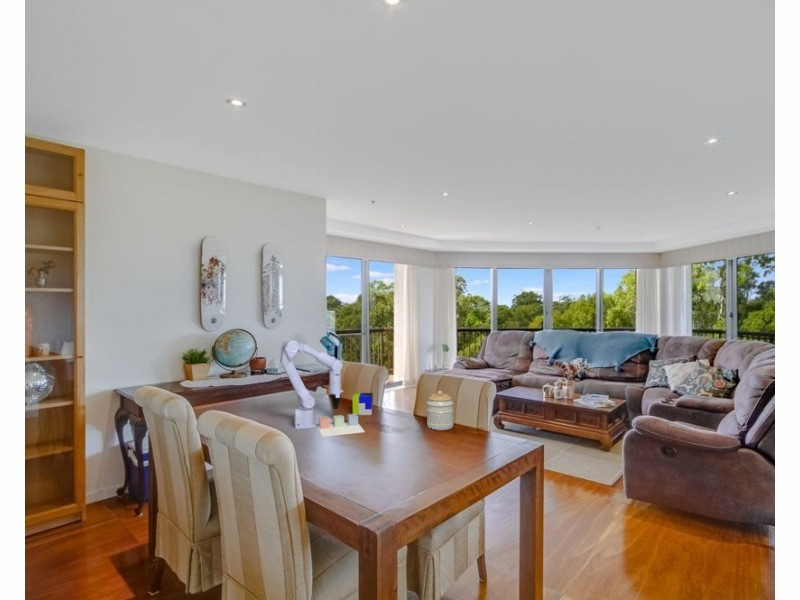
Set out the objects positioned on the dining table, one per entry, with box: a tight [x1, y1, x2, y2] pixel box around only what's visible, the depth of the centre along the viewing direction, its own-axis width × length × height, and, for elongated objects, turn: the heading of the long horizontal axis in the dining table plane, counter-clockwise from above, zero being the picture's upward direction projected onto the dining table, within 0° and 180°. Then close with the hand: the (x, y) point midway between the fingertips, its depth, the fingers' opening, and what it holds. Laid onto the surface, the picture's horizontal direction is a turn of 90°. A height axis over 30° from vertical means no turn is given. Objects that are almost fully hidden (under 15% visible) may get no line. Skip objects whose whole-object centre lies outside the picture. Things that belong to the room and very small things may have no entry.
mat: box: [317, 422, 366, 438], centre depth 206 cm, size 20×18×1 cm
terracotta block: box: [318, 415, 331, 429], centre depth 208 cm, size 4×4×4 cm
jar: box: [426, 390, 454, 431], centre depth 209 cm, size 13×13×18 cm
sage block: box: [332, 414, 345, 427], centre depth 210 cm, size 4×4×4 cm
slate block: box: [346, 413, 359, 426], centre depth 213 cm, size 4×4×4 cm
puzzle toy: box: [352, 392, 374, 416], centre depth 235 cm, size 10×10×10 cm
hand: (335, 408), depth 219 cm, fingers closed
